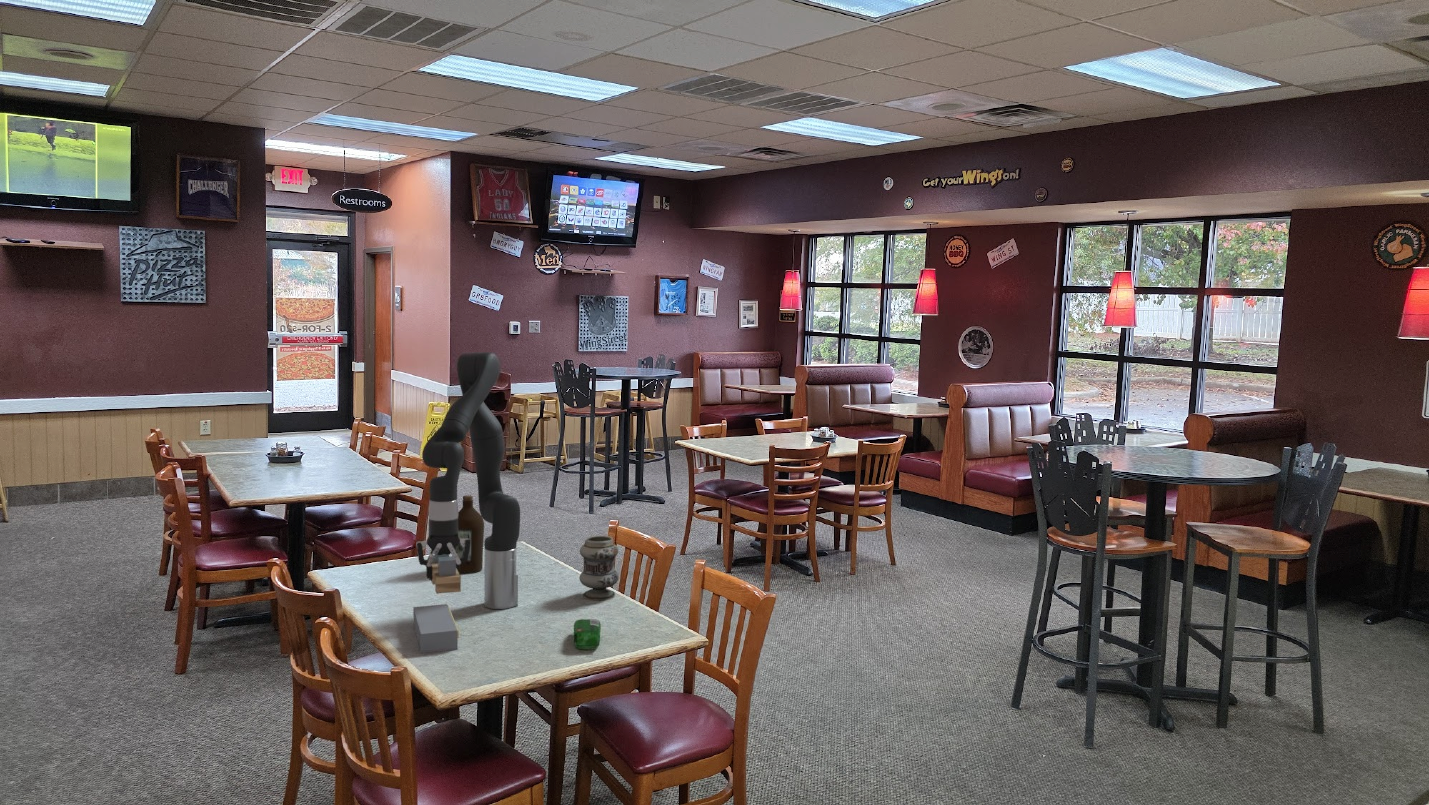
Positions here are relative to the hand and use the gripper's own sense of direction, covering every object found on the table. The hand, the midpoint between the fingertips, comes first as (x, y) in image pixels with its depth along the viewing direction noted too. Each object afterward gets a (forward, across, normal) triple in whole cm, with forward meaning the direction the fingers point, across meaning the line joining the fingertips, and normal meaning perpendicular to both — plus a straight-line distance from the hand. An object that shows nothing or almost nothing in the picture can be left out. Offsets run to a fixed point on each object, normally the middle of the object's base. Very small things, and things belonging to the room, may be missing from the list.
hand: (443, 578), depth 254 cm
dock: (+16, +2, 0) cm, 16 cm away
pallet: (+1, 0, 0) cm, 1 cm away
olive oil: (+16, -15, -63) cm, 67 cm away
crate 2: (-3, 0, +7) cm, 8 cm away
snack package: (+16, -35, +17) cm, 42 cm away
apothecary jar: (+16, -49, -22) cm, 56 cm away
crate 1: (-3, 0, -7) cm, 8 cm away
